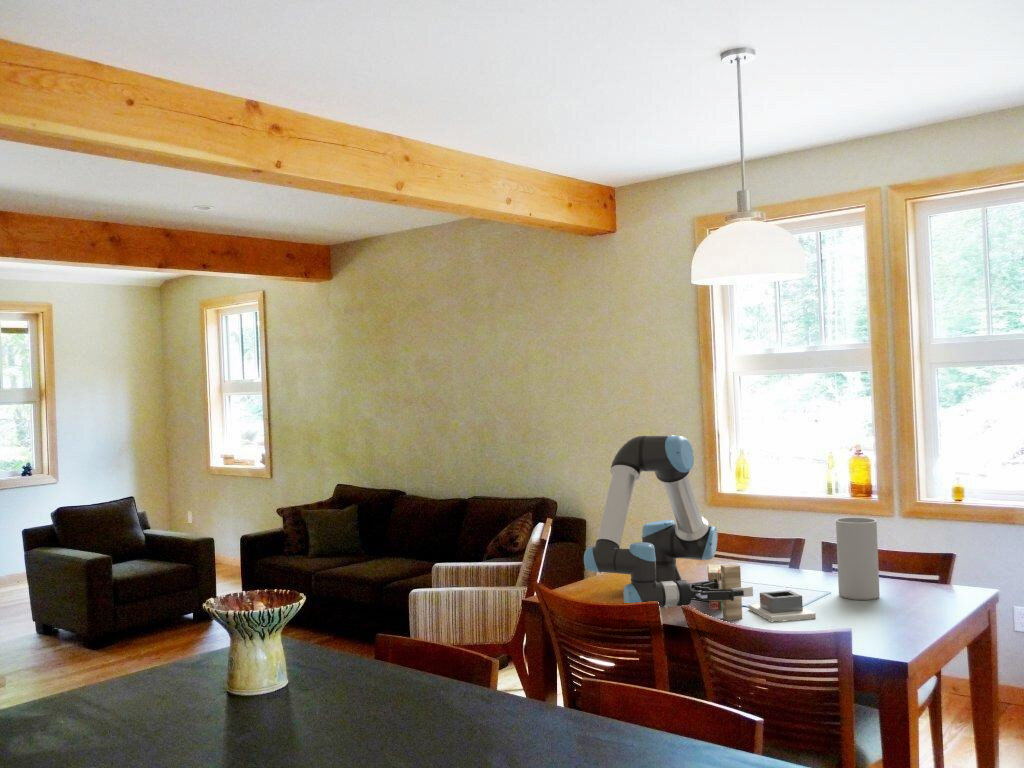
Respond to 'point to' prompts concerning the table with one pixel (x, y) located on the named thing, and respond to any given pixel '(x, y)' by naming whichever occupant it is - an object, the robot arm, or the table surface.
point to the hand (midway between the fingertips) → (745, 588)
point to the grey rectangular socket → (781, 601)
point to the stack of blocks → (715, 573)
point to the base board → (782, 614)
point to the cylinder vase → (857, 558)
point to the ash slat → (728, 581)
